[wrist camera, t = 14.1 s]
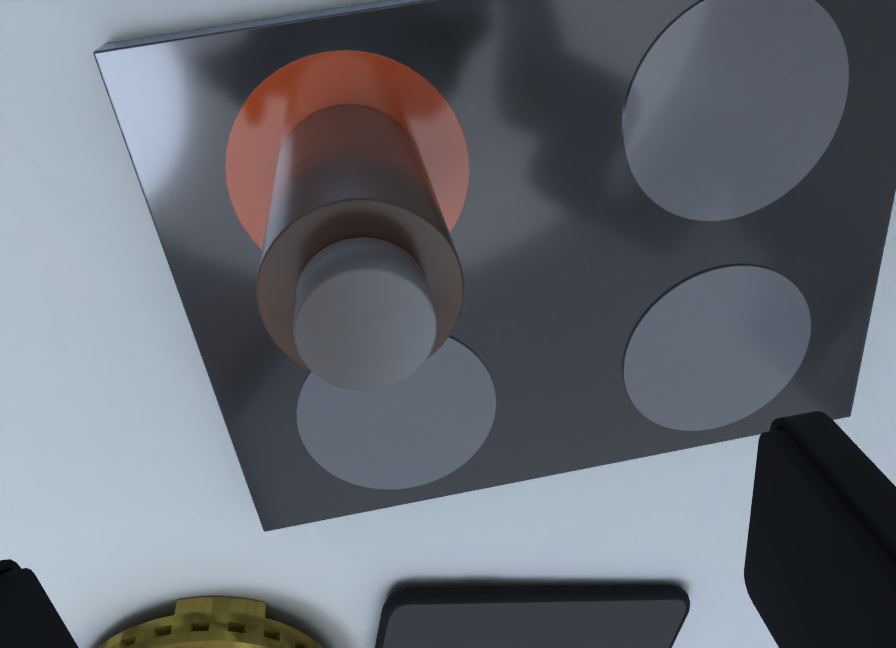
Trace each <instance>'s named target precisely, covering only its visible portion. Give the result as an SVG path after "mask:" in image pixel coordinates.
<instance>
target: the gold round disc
mask: <svg viewBox="0 0 896 648" xmlns="http://www.w3.org/2000/svg"><path fill="white" fill-rule="evenodd" d="M265 613H266V603H264V602H259V601H255V600H250V599H242V598H234V597H196V598H188V599H180V600H177V604H176V609H175V614H174V615H172V616H167V617H163V618H158V619H154V620H151V621H148V622H145V623H142V624H139V625H136V626H134V627H131V628H129V629H127V630H124V631H122V632H120V633H119V634H117V635H115V636H113V637H111V638H110V639H108V640H107V641H105V642H104V643H103V644H101V645H100V646H98V647H97V648H323V647H322V646H321V645H320V644H319V643H317V642H316V641H315V640H313V639H312V638H311V637H309V636H308V635H306V634H304V633H302V632H301V631H299V630H297V629H295V628H293V627H290V626H288V625H286V624H283V623H281V622H278V621H274V620H271V619H268V618H265Z"/></svg>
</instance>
